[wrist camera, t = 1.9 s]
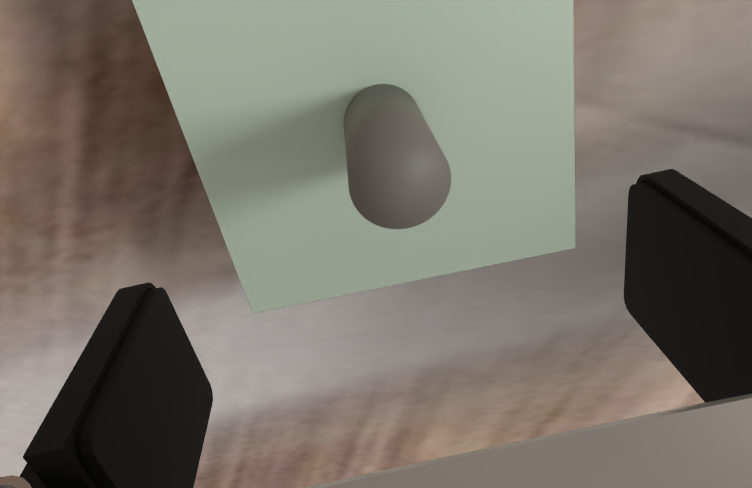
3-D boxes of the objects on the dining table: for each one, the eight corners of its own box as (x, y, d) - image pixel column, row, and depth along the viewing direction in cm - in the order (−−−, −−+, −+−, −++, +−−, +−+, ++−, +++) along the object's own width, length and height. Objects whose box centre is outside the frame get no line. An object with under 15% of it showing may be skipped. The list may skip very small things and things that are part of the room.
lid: (562, -152, 18) (679, -199, 12) (568, 239, 25) (642, 331, 19) (120, -52, 18) (18, -49, 12) (254, 303, 25) (232, 413, 20)
